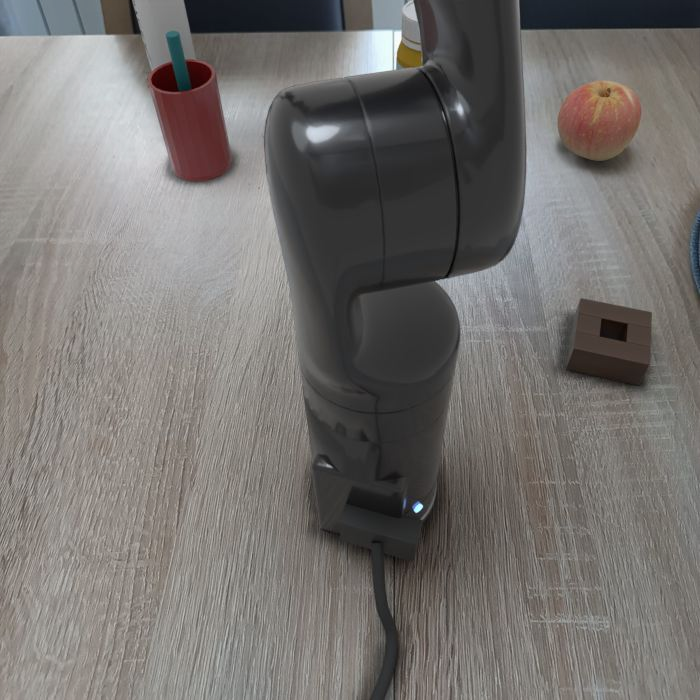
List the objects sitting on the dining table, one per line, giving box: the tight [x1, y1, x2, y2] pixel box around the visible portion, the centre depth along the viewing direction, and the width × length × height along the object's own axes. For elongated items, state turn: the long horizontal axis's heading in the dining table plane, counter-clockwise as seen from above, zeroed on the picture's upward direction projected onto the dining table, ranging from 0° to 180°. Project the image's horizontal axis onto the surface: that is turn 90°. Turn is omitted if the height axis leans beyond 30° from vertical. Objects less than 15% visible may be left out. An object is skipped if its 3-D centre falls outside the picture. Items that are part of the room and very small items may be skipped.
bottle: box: [395, 0, 422, 70], centre depth 76 cm, size 7×7×15 cm
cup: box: [147, 59, 233, 182], centre depth 74 cm, size 7×7×11 cm
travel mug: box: [131, 0, 197, 72], centre depth 84 cm, size 6×7×20 cm
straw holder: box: [565, 297, 653, 386], centre depth 58 cm, size 6×6×3 cm
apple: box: [557, 80, 642, 162], centre depth 75 cm, size 9×9×8 cm
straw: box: [166, 31, 192, 92], centre depth 73 cm, size 1×1×15 cm
